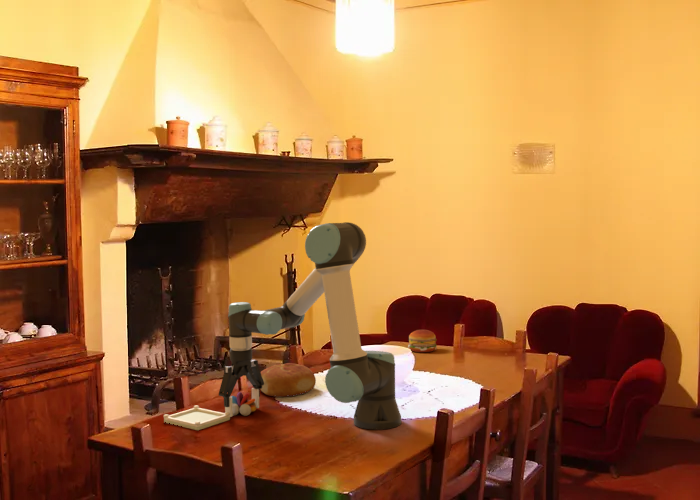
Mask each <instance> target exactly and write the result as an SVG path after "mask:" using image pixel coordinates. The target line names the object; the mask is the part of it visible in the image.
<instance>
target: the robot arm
mask: <svg viewBox="0 0 700 500" xmlns="http://www.w3.org/2000/svg"><path fill="white" fill-rule="evenodd" d="M304 241H305V242H304V250H305V254H306V257H308V259H309V260H310V261H311V262H312V263H314V266H315V268H314V269H313V270H312V271H311V272H310V273H309V274H308V275H307V276H306V278H305V280H303V281H302V283H301V284H300V285H299V286H298V287H297V288H296V289H295V291H294V292H293V293H292V294H291V295H290V296H289V298H288V299H287V300H286V301H284V303H283V304H282V305H281V306H279V307H274V308H269V309H263V310H262V309H261V310H259V309H252V305H251V303H250V302H247V301H246V302H245V301H240V302H232V303H230V304H229V305H228V314H227V318H228V334H229V335H228V336H229V337H228V339H229V342H228V343H229V348H230V350H229V360H230V361H231V362H230V363H231V365H230V366H226V365H225V366H224V367H223V376H222V380H221V384H220V387H219V392H218V396H219V397H223V406H224V411H225V412H230V418H232V417H233V416H234V415H233V407H232V397H231V396H232V393H233V391H234V389H235V387H236V384H237V381H238V380H239V379H240V378H241V377H244V376H246V379H247V380H248V381H249V383H250V385H251V386H252V387H251V399H255V403H256V409H259V408H260V397H261V395H260V394H261V393H260V392H261V389H262V386H263V385H264V381H263V378H262V376H261V373H260V372H261V370H260V368H259V362H258V360H257V359H253V349H252V347H253V336H252V333H253V334H262V335H277V334H278V333H279V332H280V331H281V330H285V329H290V328H295V327H297V326H300V325H301V324H302V323H304V320H305V316H306V313H307V312H308V311H309V309H310V308H311V307H312V306H313V305H314V303H316V302H317V300H318V299H319V298H320V297H321V296H322V295H323V294H324V299H325V305H326V306H325V307H326V310H327V311H326V312H327V318H328V325H329V331H330V339H331V344H332V351H333V352H332V355H331V356H330V357H329V365H330V368H329V369H328V370H327V373H326V374H325V377H324V379H325V380H324V383H325V387H326V390H327V392H328V394H329V395H330V396H331V397H333V398H334V400H336V401H337V402H340V403H344V404H350V403H355V402H357V403H356V407H355V411H354V414H353V424H354V426H356V427H358V428H360V429H364V430H365V429H366V430H388V429H393V428H396V427H398V426H400V425H401V424H402V414H401V413H400V409H399V405H398V403H397V400H396V363H395V361H396V360H395V355H394V354H393V353H392V352H389V351H383V350H382V351H381V350H364V349H363V348H362V343H361V337H360V331H359V325H358V324H359V323H358V319H357V317H358V316H357V312H356V311H357V310H356V304H355V298H354V291H353V290H354V289H353V285H352V278H351V269H352V268H353V267H354V265H355V263H357V261H358V260H359V259H361V257H362V255H363V254H364V252H365V249H366V247H367V238H366V234H365V232H364V230H363V229H362V228H361V227H360V226H359V225H357V224H355V223H353V222H331V223H330V222H329V223H323V224H318V225H316V226H314V227H312V228H311V229H310V230H309V232H308V234H307V236H306V238H305V240H304ZM225 412H224V413H225Z"/></svg>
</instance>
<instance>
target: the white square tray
mask: <svg viewBox="0 0 700 500" xmlns="http://www.w3.org/2000/svg"><path fill="white" fill-rule="evenodd" d="M230 420H231V417H230V412H221V411H215V410H211V409H207V408H201V407H200V406H199V405H193V407H191V408H190V409H187V410H183V411H180V412H177V413H173V414H163V423H165V422H166V423H165V424H169V423H170V425H173V424H174V425H173V426H177V425H178V426H179V427H181V426H182V427H183V428H185V429H191V430H195V431H199V430H202V429H207V428H209V427H211V426H212V427H213V426H215V425H218V424H221V423H224V422H227V421H230Z"/></svg>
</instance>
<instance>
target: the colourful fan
mask: <svg viewBox="0 0 700 500" xmlns="http://www.w3.org/2000/svg"><path fill="white" fill-rule="evenodd" d="M230 397H232V407H233V416H237V415H239V413H240V414H241V415H242V416H244V417H246V416H249V415H250V414H251V413H253V412H256V410H257V408H256V403H255V399H252V398H251V399H249V398H250V393H249V392H246V393H245V394H243V392H241V391H239V392H237V394H236V396H235V395H231V396H230Z"/></svg>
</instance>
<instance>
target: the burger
mask: <svg viewBox="0 0 700 500" xmlns="http://www.w3.org/2000/svg"><path fill="white" fill-rule="evenodd" d="M437 340H438V339H437V338H436V334H435V333H434V332H433V331H431V330H428V329H416V330H414V331H412V332H411V333H410V334H409V335H408V345H407V348H409V349H411V350H412V351H411V350H410V351H411V352H415V353H429V352H430V353H431V352H433V351H435V350H437V348H438V347H437V343H436V342H437Z"/></svg>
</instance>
